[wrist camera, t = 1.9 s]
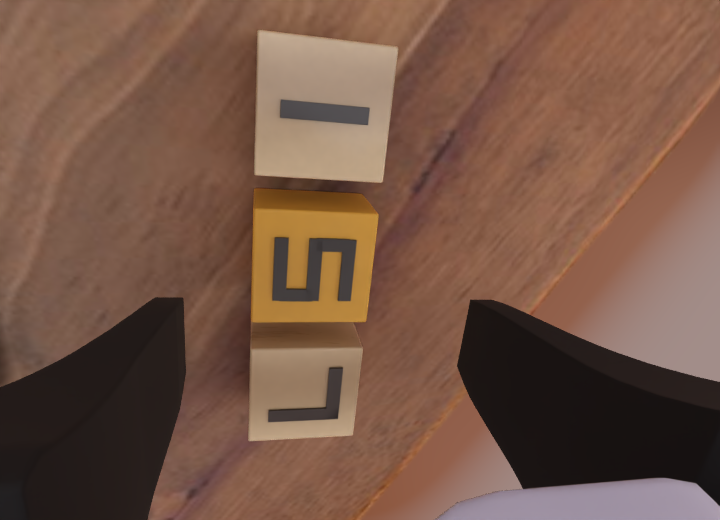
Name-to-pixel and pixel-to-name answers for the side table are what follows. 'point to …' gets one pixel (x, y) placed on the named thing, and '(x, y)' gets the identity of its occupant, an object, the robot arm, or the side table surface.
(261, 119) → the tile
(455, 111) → the side table surface
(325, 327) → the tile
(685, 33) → the side table surface
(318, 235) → the yellow number block
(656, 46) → the side table surface
